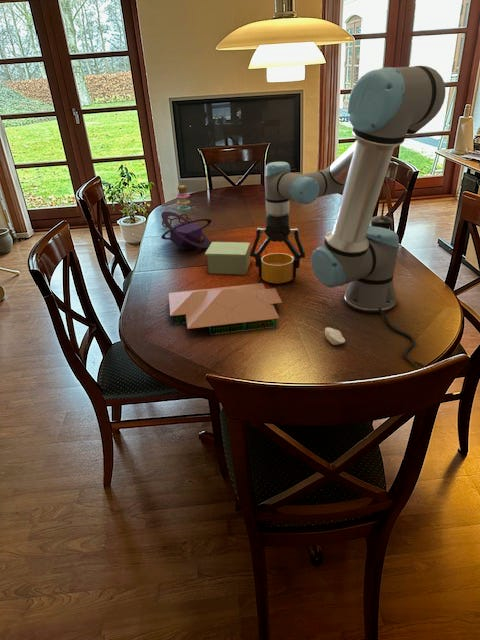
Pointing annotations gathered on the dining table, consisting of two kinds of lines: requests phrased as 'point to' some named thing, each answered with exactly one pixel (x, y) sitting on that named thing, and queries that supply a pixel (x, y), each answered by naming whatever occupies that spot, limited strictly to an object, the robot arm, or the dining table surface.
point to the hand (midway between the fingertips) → (277, 275)
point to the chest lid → (228, 249)
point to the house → (225, 306)
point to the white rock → (334, 336)
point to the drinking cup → (381, 220)
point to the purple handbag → (185, 226)
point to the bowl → (277, 267)
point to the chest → (229, 264)
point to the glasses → (179, 220)
